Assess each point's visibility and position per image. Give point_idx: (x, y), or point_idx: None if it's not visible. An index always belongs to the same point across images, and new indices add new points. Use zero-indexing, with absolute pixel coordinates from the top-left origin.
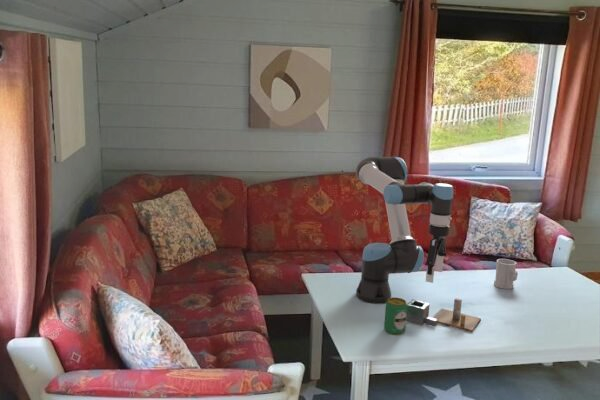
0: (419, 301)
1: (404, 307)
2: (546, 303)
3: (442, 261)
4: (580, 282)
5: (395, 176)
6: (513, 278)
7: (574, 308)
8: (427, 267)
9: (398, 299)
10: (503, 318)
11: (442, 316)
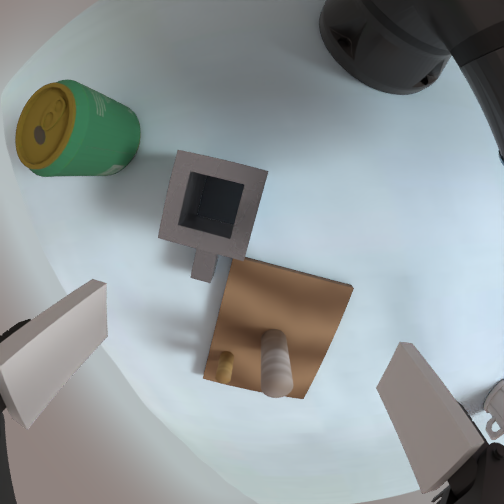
0: (247, 208)
1: (30, 169)
2: None
3: (410, 454)
4: None
5: None
6: (488, 428)
7: (396, 485)
8: (4, 347)
9: (72, 120)
10: (333, 431)
11: (277, 296)
